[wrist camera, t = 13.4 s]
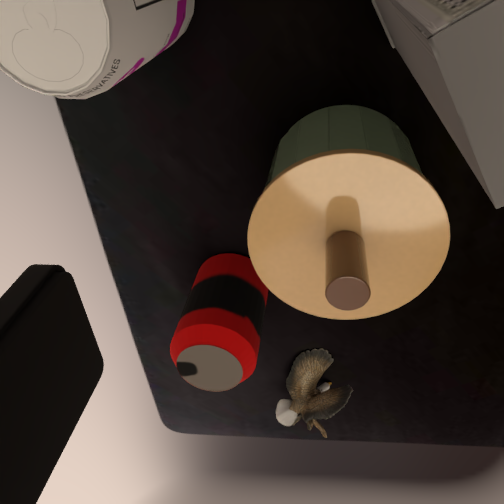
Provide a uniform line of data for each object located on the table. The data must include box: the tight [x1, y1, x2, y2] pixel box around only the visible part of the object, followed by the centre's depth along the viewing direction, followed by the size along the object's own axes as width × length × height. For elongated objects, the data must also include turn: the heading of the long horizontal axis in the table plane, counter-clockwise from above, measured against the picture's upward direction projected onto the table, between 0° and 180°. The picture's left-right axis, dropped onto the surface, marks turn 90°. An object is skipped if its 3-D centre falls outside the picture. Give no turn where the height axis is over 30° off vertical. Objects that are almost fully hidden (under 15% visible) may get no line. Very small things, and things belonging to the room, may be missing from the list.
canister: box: [266, 105, 422, 186], centre depth 35 cm, size 12×12×10 cm
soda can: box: [170, 253, 269, 391], centre depth 43 cm, size 8×8×12 cm
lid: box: [247, 149, 450, 320], centre depth 29 cm, size 13×13×6 cm
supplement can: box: [0, 0, 195, 99], centre depth 27 cm, size 8×8×15 cm
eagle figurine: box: [276, 348, 353, 438], centre depth 52 cm, size 8×7×9 cm
